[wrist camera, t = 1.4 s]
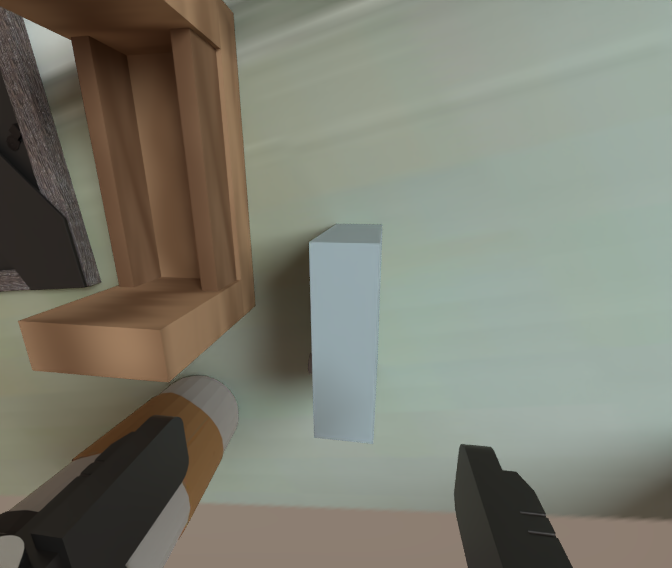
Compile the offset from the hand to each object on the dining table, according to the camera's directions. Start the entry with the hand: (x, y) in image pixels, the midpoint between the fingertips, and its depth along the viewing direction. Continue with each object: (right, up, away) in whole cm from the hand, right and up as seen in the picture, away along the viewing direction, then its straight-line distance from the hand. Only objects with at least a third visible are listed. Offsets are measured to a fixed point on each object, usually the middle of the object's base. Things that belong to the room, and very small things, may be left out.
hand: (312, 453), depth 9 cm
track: (-9, +12, +13) cm, 20 cm away
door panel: (+2, +4, +13) cm, 14 cm away
